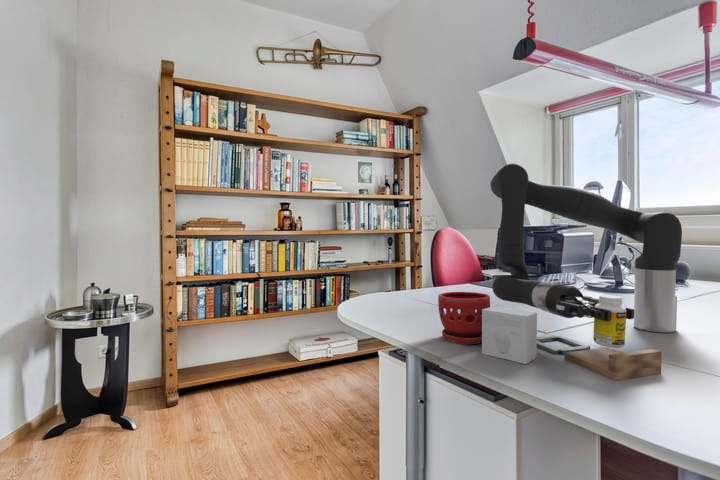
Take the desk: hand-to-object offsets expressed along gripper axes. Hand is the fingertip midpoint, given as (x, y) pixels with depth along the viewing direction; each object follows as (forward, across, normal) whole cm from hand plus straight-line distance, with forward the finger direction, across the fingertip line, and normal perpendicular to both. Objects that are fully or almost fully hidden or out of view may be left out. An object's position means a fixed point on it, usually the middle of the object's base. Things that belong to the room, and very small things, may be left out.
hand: (621, 315), depth 76 cm
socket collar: (-16, 0, +12) cm, 20 cm away
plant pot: (-28, -19, +12) cm, 36 cm away
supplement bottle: (-3, 0, +7) cm, 7 cm away
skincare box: (-14, -16, +12) cm, 24 cm away
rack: (-2, 0, +11) cm, 12 cm away
